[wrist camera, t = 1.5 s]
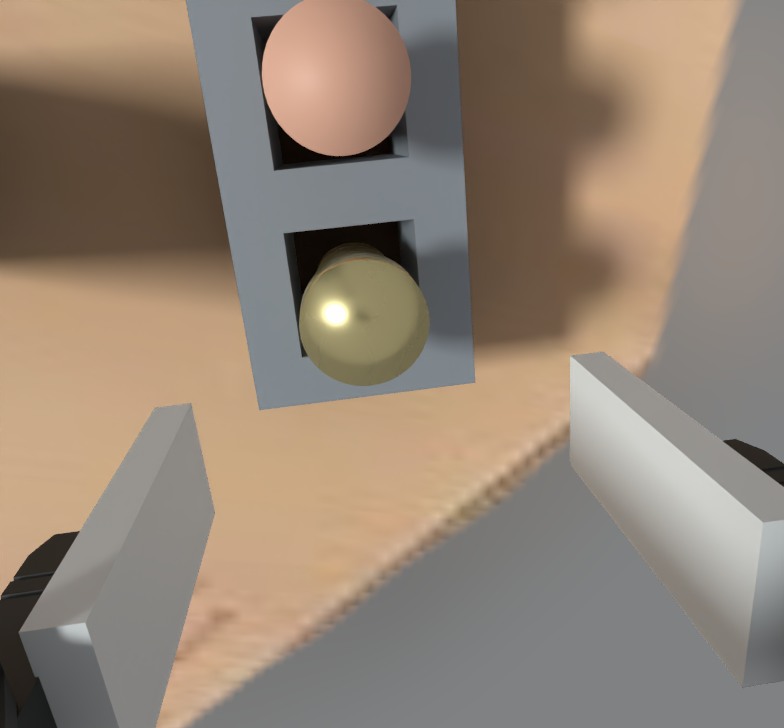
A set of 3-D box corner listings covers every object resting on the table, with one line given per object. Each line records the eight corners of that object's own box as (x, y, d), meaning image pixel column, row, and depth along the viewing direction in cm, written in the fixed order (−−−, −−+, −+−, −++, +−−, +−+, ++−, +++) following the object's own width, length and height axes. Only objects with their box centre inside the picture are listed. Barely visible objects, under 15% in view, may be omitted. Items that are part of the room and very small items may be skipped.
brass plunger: (297, 236, 28) (290, 267, 22) (399, 225, 29) (424, 253, 22) (311, 335, 30) (308, 393, 23) (407, 323, 30) (433, 377, 23)
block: (172, -224, 27) (124, -342, 20) (408, -237, 27) (437, -356, 21) (270, 359, 36) (259, 410, 29) (446, 338, 36) (475, 382, 30)
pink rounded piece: (268, 37, 26) (249, -1, 19) (381, 27, 26) (404, -13, 19) (285, 156, 27) (274, 162, 20) (392, 145, 28) (416, 148, 21)
